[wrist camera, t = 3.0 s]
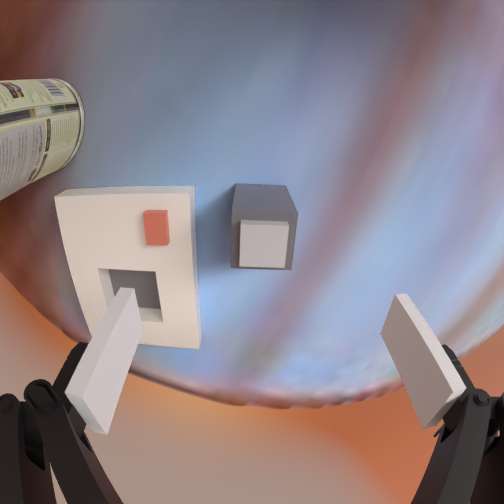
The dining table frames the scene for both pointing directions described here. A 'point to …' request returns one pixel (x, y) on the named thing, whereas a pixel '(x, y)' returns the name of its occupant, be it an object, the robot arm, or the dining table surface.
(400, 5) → the dining table surface
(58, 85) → the coffee can
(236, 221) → the plug
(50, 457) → the robot arm
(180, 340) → the socket plate
